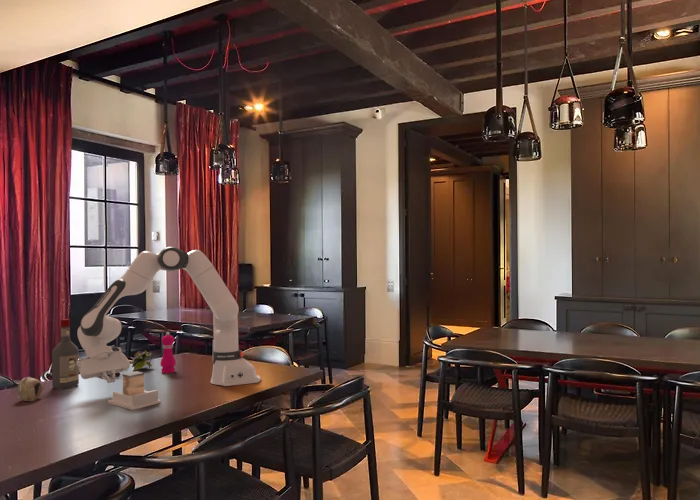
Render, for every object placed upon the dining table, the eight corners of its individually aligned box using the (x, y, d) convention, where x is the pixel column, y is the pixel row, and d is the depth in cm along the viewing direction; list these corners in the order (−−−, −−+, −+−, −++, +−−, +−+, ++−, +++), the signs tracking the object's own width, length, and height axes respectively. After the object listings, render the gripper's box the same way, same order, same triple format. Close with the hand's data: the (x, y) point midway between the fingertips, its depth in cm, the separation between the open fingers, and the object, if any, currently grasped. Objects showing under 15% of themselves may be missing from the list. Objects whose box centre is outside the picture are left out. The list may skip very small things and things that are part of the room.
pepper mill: (171, 373, 267) (170, 333, 267) (157, 373, 268) (157, 332, 268) (178, 370, 274) (178, 331, 274) (165, 370, 275) (165, 330, 275)
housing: (107, 402, 214) (107, 390, 214) (135, 396, 224) (135, 384, 224) (132, 409, 204) (132, 396, 204) (160, 402, 214) (160, 389, 214)
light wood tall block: (122, 400, 213) (122, 374, 213) (136, 396, 218) (136, 371, 218) (130, 402, 210) (129, 375, 210) (144, 398, 215) (144, 372, 215)
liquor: (49, 387, 241) (49, 320, 241) (68, 383, 249) (68, 318, 249) (62, 390, 237) (62, 321, 237) (81, 385, 245) (81, 318, 245)
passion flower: (137, 379, 280) (142, 358, 287) (156, 376, 278) (160, 354, 285) (124, 370, 271) (129, 348, 279) (143, 367, 269) (147, 345, 276)
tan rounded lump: (21, 408, 217) (12, 387, 214) (20, 400, 224) (11, 379, 221) (46, 398, 221) (38, 376, 218) (45, 390, 228) (37, 369, 225)
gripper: (77, 354, 220) (90, 381, 214) (124, 347, 237) (137, 372, 231) (71, 364, 223) (84, 391, 217) (118, 356, 239) (131, 381, 233)
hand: (112, 381), depth 224 cm, fingers closed
